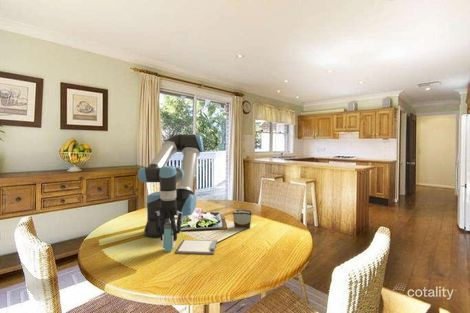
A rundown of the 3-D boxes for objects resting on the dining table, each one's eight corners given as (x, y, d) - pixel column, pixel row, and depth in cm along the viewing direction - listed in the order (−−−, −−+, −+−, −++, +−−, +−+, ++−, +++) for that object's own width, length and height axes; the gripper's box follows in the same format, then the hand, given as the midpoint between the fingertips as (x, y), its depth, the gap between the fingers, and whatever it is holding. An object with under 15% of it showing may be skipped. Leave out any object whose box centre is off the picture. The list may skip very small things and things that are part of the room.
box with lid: (164, 251, 113) (163, 224, 112) (166, 248, 116) (166, 222, 115) (171, 252, 112) (170, 225, 112) (173, 248, 116) (173, 222, 115)
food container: (252, 225, 149) (252, 209, 149) (252, 228, 143) (252, 212, 142) (233, 224, 150) (233, 208, 150) (231, 227, 144) (232, 211, 144)
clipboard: (175, 253, 111) (175, 250, 111) (183, 240, 125) (183, 237, 125) (213, 254, 110) (213, 251, 110) (217, 241, 124) (217, 238, 124)
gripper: (147, 200, 109) (148, 250, 111) (183, 201, 108) (184, 251, 110) (153, 196, 117) (154, 243, 118) (187, 197, 116) (188, 244, 117)
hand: (168, 246), depth 114 cm, fingers open, 4 cm apart
